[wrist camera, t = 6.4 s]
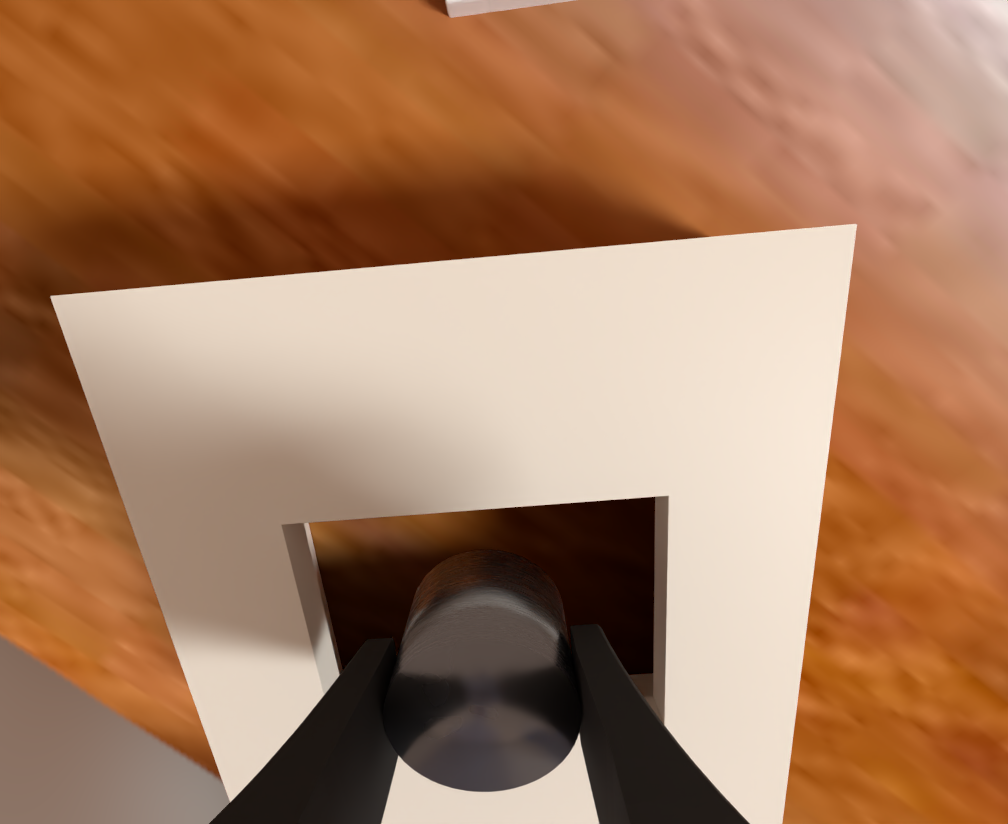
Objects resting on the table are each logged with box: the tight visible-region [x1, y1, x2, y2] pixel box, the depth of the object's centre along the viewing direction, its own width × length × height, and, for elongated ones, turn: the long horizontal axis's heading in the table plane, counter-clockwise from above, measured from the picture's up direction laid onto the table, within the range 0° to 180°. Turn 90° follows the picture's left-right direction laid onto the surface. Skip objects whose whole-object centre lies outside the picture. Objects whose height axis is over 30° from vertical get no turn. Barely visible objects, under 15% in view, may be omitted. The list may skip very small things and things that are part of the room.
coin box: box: [50, 224, 857, 824], centre depth 15 cm, size 18×16×6 cm
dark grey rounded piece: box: [383, 550, 581, 792], centre depth 11 cm, size 4×4×3 cm
